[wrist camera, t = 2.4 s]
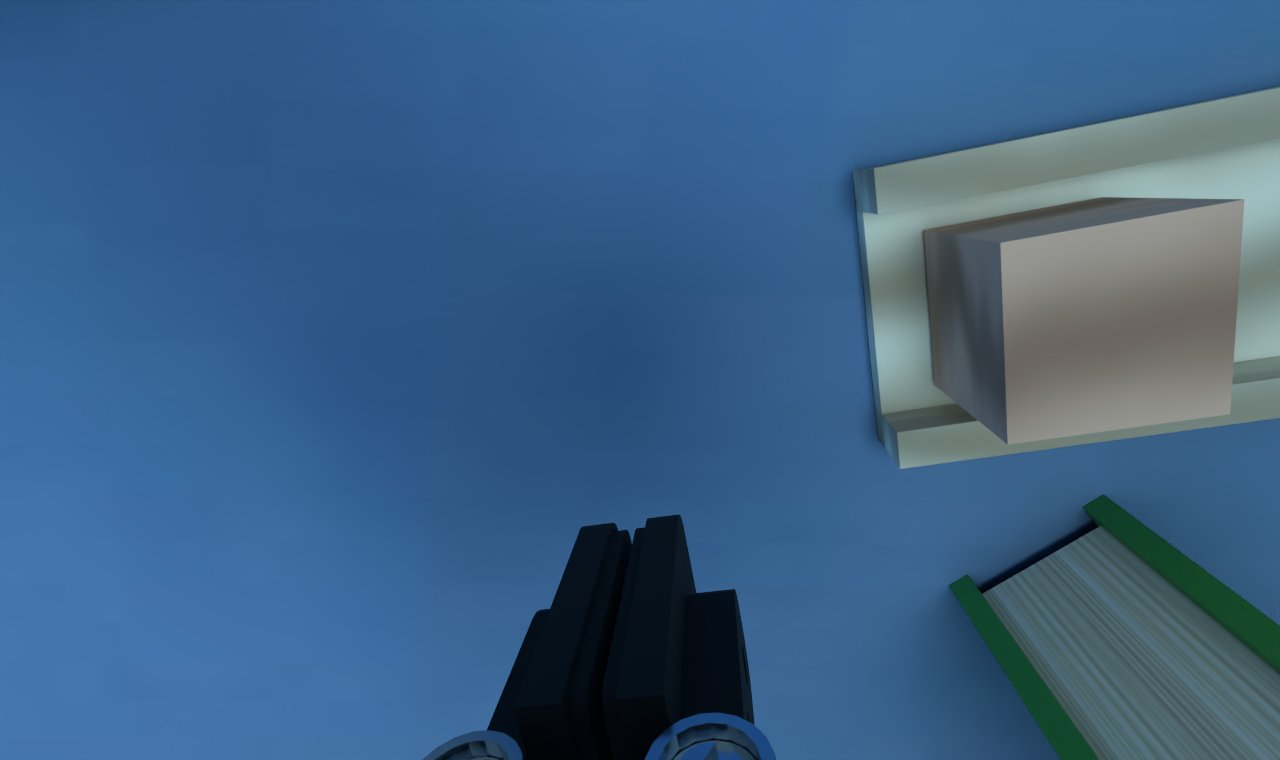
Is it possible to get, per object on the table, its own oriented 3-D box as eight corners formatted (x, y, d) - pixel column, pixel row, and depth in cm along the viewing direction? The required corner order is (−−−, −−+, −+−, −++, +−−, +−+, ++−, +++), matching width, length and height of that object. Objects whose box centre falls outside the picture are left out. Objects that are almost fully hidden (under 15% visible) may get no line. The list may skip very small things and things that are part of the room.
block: (924, 230, 23) (1000, 242, 17) (1101, 197, 22) (1244, 199, 16) (934, 385, 24) (1007, 444, 19) (1100, 360, 24) (1230, 414, 18)
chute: (852, 171, 24) (873, 168, 21) (1465, 49, 21) (1587, 26, 18) (878, 439, 27) (900, 469, 24) (1418, 362, 24) (1516, 385, 21)
